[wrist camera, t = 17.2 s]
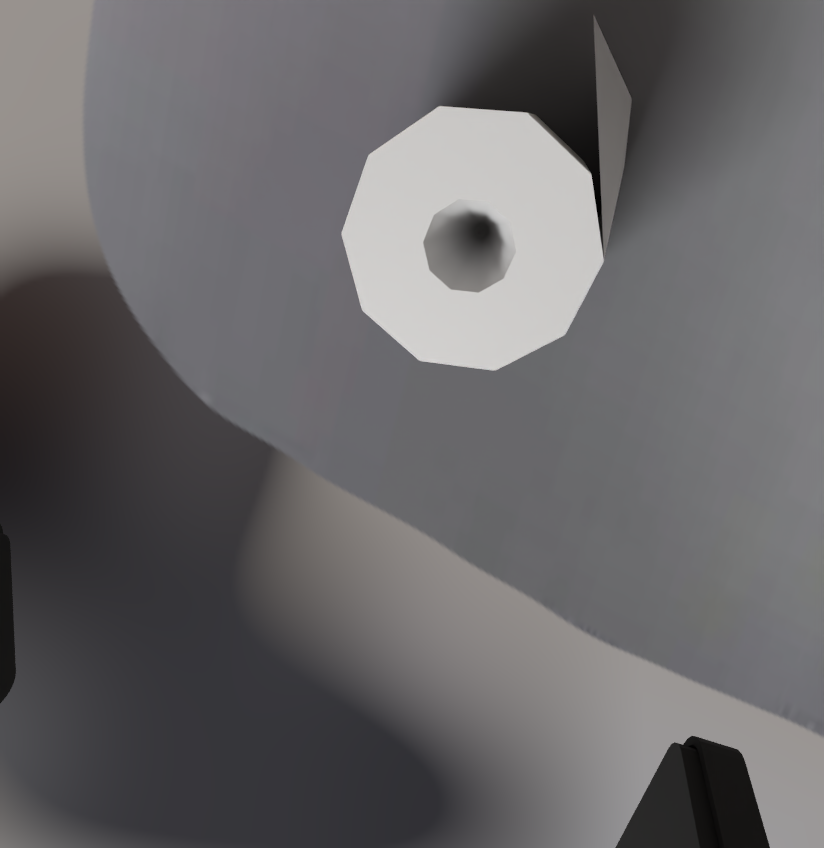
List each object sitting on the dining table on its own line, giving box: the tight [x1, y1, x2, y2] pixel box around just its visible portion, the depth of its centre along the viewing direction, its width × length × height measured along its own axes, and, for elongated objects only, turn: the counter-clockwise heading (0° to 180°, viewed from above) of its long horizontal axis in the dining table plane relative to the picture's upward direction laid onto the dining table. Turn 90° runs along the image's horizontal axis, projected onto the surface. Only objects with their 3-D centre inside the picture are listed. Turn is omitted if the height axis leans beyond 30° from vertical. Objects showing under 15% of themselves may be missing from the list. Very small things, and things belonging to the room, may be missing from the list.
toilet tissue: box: [341, 14, 632, 371], centre depth 28 cm, size 9×13×9 cm
